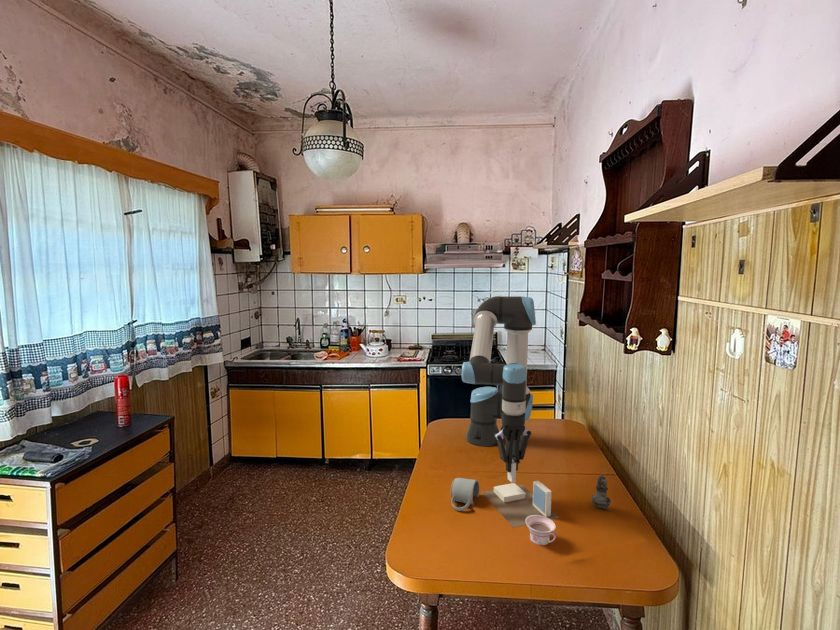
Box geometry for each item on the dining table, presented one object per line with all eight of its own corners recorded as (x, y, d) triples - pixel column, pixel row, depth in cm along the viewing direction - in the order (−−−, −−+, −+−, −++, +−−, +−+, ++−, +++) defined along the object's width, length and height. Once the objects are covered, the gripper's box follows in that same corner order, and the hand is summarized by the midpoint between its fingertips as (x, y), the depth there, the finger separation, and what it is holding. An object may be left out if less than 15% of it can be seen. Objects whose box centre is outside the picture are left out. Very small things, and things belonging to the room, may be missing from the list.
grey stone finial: (586, 506, 139) (588, 471, 138) (600, 503, 142) (602, 468, 140) (600, 516, 134) (602, 480, 133) (614, 512, 136) (616, 476, 135)
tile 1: (514, 488, 148) (493, 492, 146) (514, 482, 148) (493, 486, 146) (525, 498, 142) (504, 502, 139) (525, 493, 142) (504, 497, 139)
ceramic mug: (456, 492, 148) (456, 471, 147) (479, 498, 144) (479, 476, 143) (445, 509, 138) (445, 486, 137) (470, 515, 135) (470, 492, 134)
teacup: (509, 542, 122) (510, 521, 121) (533, 525, 130) (534, 506, 129) (547, 564, 113) (548, 542, 112) (570, 544, 121) (571, 524, 120)
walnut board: (480, 495, 146) (480, 491, 146) (521, 487, 151) (521, 484, 151) (513, 531, 126) (513, 527, 126) (559, 521, 132) (559, 517, 131)
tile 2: (532, 505, 138) (532, 481, 137) (537, 504, 139) (538, 480, 138) (545, 517, 132) (546, 492, 131) (550, 515, 132) (551, 491, 131)
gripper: (501, 418, 135) (499, 489, 138) (537, 413, 139) (534, 482, 142) (490, 410, 142) (488, 478, 145) (524, 406, 146) (522, 472, 149)
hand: (511, 480), depth 144 cm, fingers closed
